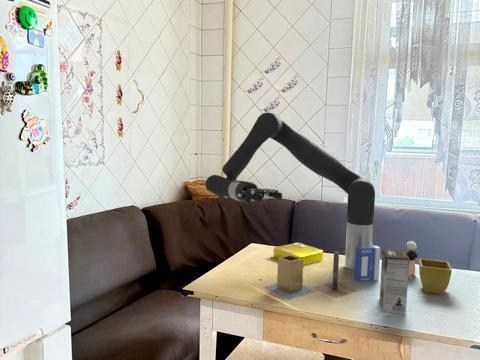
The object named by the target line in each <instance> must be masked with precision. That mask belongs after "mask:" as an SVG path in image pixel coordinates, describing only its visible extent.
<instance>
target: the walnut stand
mask: <svg viewBox="0 0 480 360" xmlns="http://www.w3.org/2000/svg"><path fill="white" fill-rule="evenodd" d="M339 263H340V252H339V251H334V252H333V265H332V266H333V269H332V270H333V271H332V281H330V282H325V283H323V284H319V285H316V286H313V287H312V288H311V289H314V290H316V291H319V292H322V293H324V294H327V295H329V296H332V297H334V298H340V297H343V296H345V295H350V294H352V293H355V292H358V290H357V289H355V288H353V287H349V286H347V285H344V284H341V283H339Z"/></svg>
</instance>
